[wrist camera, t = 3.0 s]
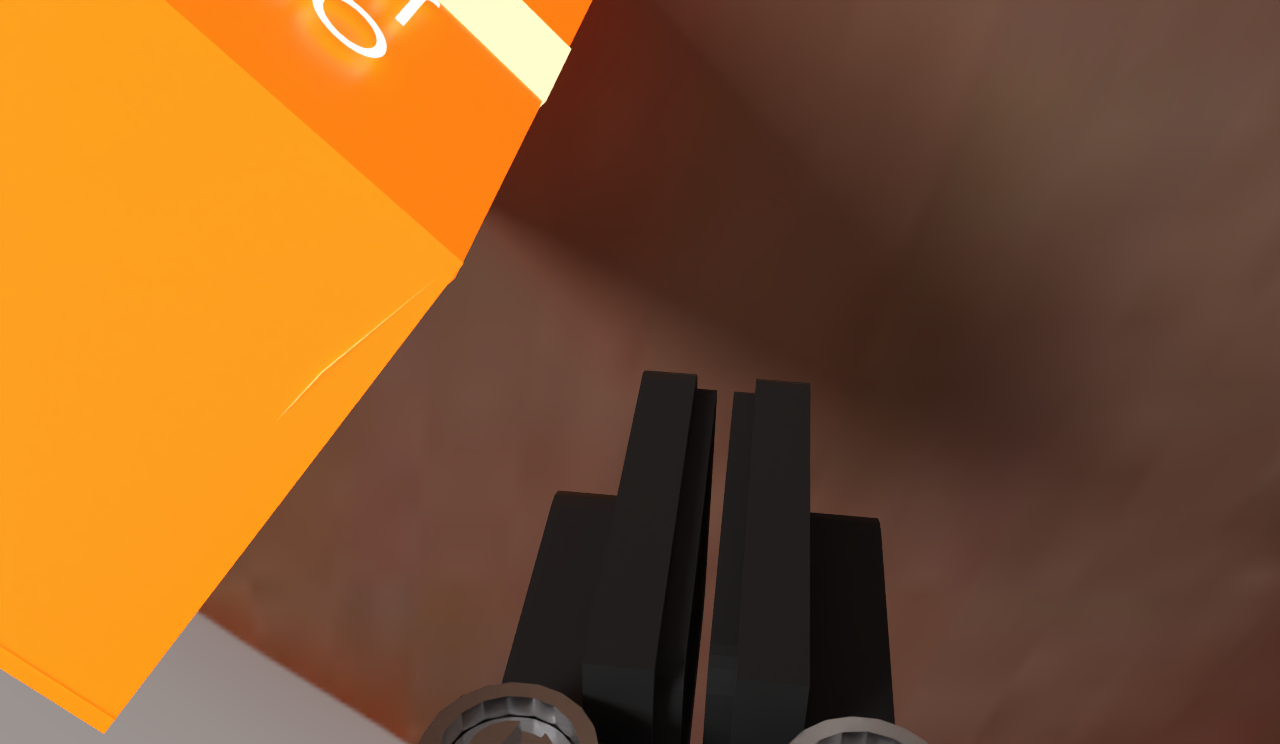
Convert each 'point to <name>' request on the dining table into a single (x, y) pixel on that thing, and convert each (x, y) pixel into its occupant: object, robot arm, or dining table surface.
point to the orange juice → (216, 278)
